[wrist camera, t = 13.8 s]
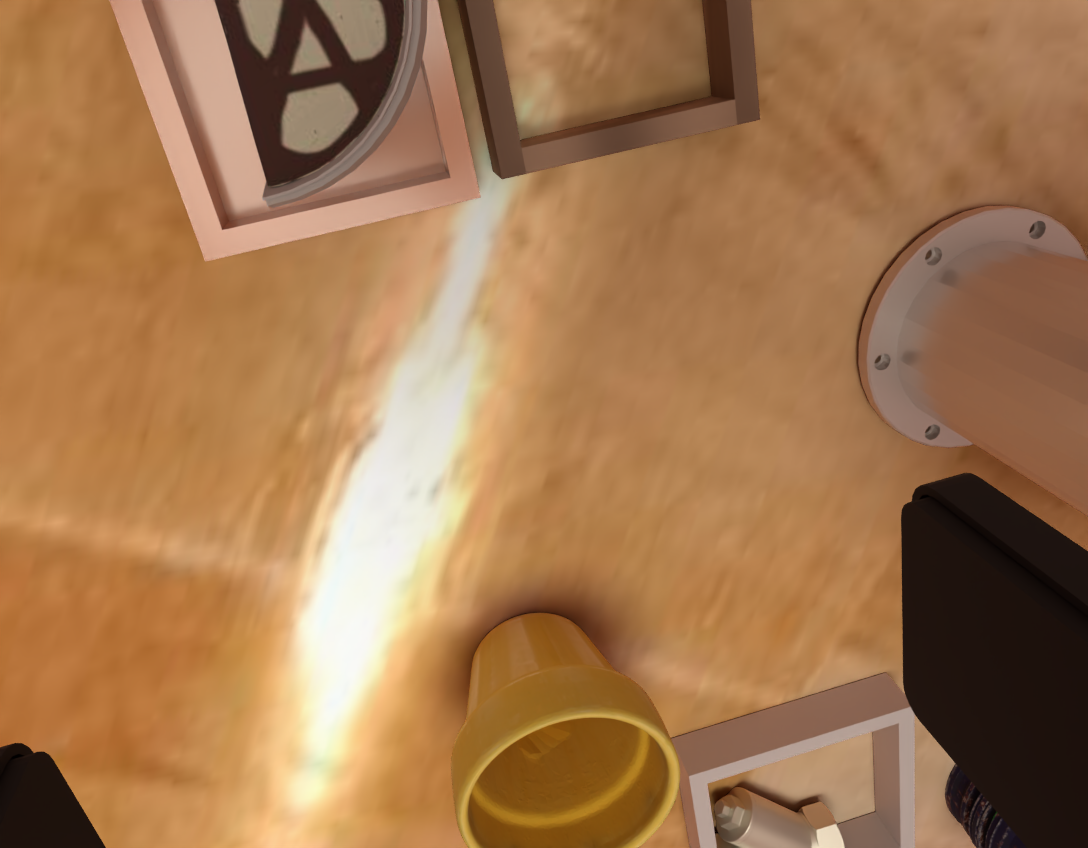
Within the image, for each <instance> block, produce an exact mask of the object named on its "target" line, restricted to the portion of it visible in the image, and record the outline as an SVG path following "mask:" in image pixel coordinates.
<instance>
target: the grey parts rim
mask: <svg viewBox="0 0 1088 848" xmlns="http://www.w3.org/2000/svg"><path fill="white" fill-rule="evenodd" d="M869 732H873V755H874V785H875V812H873V813H870V814H867V815H864V816H861V817H858V818H855V819H852V820H849V821H846V822H843V823H840V824H837V825H838V828H839V830H840V833H841V835H842V838H843V842H844V846H845V848H915V732H914V712H913V711H912V709H911V707H910V705H909V703H908V700H907V698H906V695H905V694H904V693H903V692H902V691H901V690H900V688H899V687H898V686H897V685H896V684H895V682H894V681H893V680H892V679H891V678H890V677H889V675H888V674H887V673H882V674H879V675H876V676H873V677H869V678H866V679H863V680H860V681H856V682H853V683H850V684H847V685H843V686H840V687H837V688H834V689H830V690H827V691H824V692H821V693H817V694H814V695H811V696H808V697H804V698H801V699H798V700H795V701H791V702H788V703H785V704H782V705H778V706H775V707H772V708H769V709H765V710H762V711H759V712H756V713H752V714H749V715H746V716H743V717H739V718H736V719H733V720H730V721H726V722H723V723H720V724H717V725H713V726H710V727H707V728H704V729H700V730H697V731H694V732H691V733H687V734H684V735H681V736H678V737H674V738H671V739H672V742H673V745H674V747H675V750H676V752H677V755H678V759H679V764H680V784H679V787H680V792H681V798H682V804H683V810H684V816H685V822H686V828H687V834H688V839H689V845H690V848H717V845H716V838H715V832H714V825H713V818H712V812H711V805H710V798H709V792H708V785H707V783H711V782H714V781H717V780H720V779H723V778H726V777H730V776H733V775H736V774H739V773H742V772H746V771H749V770H752V769H755V768H758V767H761V766H765V765H768V764H771V763H774V762H777V761H780V760H784V759H787V758H790V757H793V756H796V755H800V754H803V753H806V752H809V751H812V750H815V749H819V748H822V747H825V746H828V745H831V744H834V743H838V742H841V741H844V740H847V739H850V738H854V737H857V736H860V735H863V734H866V733H869Z"/></svg>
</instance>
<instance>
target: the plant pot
mask: <svg viewBox="0 0 1088 848" xmlns="http://www.w3.org/2000/svg"><path fill="white" fill-rule="evenodd" d="M451 776H452V789H453V798H454V806H455V813H456V819H457V824H458V827H459V831H460V833H461V836H462V838H463V840H464V842H465V843H466V845H467V846H468V848H639V847H640V846H641V845H642V844H644V843H645V842H646V841H647V840H648V839H649V838H650V837H651V836H652V835H653V834H654V833H655V832H656V831H657V829H658V828H659V827H660V826H661V824H662V823H663V822H664V820H665V819H666V817H667V816H668V814H669V812H670V810H671V808H672V806H673V804H674V802H675V800H676V797H677V793H678V789H679V784H680V764H679V759H678V755H677V752H676V750H675V747H674V745H673V742H672V740H671V738H670V736H669V734H668V731H667V729H666V727H665V725H664V723H663V721H662V719H661V717H660V715H659V713H658V711H657V710H656V708H655V706H654V704H653V703H652V701H651V699H650V698H649V696H648V695H647V693H646V692H645V691H644V690H643V689H642V688H641V687H640V686H639V685H638V684H637V683H635V682H634V681H633V680H631V679H630V678H628V677H627V676H625V675H623V674H621V673H619V672H617V671H615V670H614V669H613V667H612V666H611V665H610V664H609V663H608V661H607V660H606V659H605V658H604V656H603V655H602V654H601V653H600V651H599V650H598V649H597V648H596V647H595V645H594V644H593V643H592V642H591V640H590V639H589V638H588V637H587V635H586V634H585V633H584V632H583V631H582V630H581V629H580V628H579V627H578V626H577V625H576V624H575V623H573V622H572V621H570V620H568V619H567V618H564V617H562V616H559V615H555V614H550V613H529V614H524V615H520V616H516V617H514V618H511V619H509V620H507V621H505V622H503V623H501V624H500V625H498V626H497V627H495V628H494V629H493V630H491V631H490V632H489V633H488V634H487V635H486V637H485V638H484V639H483V640H482V641H481V643H480V645H479V646H478V648H477V650H476V652H475V654H474V657H473V661H472V668H471V678H470V688H469V696H468V706H467V714H466V721H465V723H464V724H463V726H462V727H461V729H460V731H459V733H458V735H457V738H456V740H455V743H454V746H453V750H452V757H451Z"/></svg>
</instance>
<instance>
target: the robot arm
mask: <svg viewBox="0 0 1088 848" xmlns="http://www.w3.org/2000/svg"><path fill="white" fill-rule="evenodd" d="M858 366H859V371H860V377H861V382H862V386H863V389H864V391H865V393H866V396H867V398H868V400H869V403H870V404H871V406H872V407H873V408H874V410H875V411H876V413H877V414H878V415H879V417H880V418H881V419H882V420H883V421H885V422H886V423H887V424H888V425H890V426H891V427H892V428H893V429H894V430H896V431H898V432H899V433H901V434H902V435H904V436H906V437H907V438H909V439H910V440H912V441H915V442H918V443H920V444H923V445H927V446H933V447H943V448H953V447H964V446H970V445H974V444H975V445H976V446H978V447H979V448H981V449H983V450H984V451H986V452H987V453H989V454H990V455H992V456H994V457H995V458H997V459H998V460H1000V461H1001V462H1003V463H1005V464H1006V465H1008V466H1009V467H1011V468H1012V469H1014V470H1016V471H1017V472H1019V473H1020V474H1022V475H1023V476H1025V477H1027V478H1028V479H1030V480H1031V481H1033V482H1034V483H1036V484H1038V485H1039V486H1041V487H1042V488H1044V489H1046V490H1047V491H1049V492H1050V493H1052V494H1053V495H1055V496H1057V497H1058V498H1060V499H1061V500H1063V501H1064V502H1066V503H1068V504H1069V505H1071V506H1072V507H1074V508H1075V509H1077V510H1079V511H1080V512H1082V513H1083V514H1085V515H1086V516H1088V258H1087V256H1086V254H1085V252H1084V251H1083V249H1082V247H1081V245H1080V243H1079V241H1078V240H1077V239H1076V237H1075V236H1074V235H1073V234H1072V233H1071V232H1070V231H1069V230H1068V229H1067V228H1066V226H1064V225H1063V224H1061V223H1060V222H1058V221H1056V220H1055V219H1053V218H1052V217H1050V216H1048V215H1045V214H1042V213H1039V212H1036V211H1033V210H1030V209H1025V208H1019V207H1014V206H1009V205H1003V206H985V207H981V208H977V209H973V210H969V211H965V212H962V213H960V214H957V215H955V216H953V217H951V218H949V219H947V220H944V221H942V222H940V223H939V224H937V225H936V226H934V227H933V228H931V229H930V230H929V231H927V232H926V233H924V234H923V235H921V236H920V237H919V238H918V239H917V240H915V241H914V242H913V243H912V244H911V245H910V246H909V247H908V248H907V249H906V250H905V251H904V252H903V253H902V254H901V255H900V256H899V257H898V258H897V260H896V261H895V262H894V264H893V265H892V266H891V267H890V269H889V270H888V271H887V272H886V274H885V275H884V277H883V279H882V280H881V282H880V284H879V286H878V287H877V289H876V291H875V293H874V294H873V296H872V298H871V301H870V304H869V306H868V309H867V312H866V314H865V317H864V320H863V324H862V329H861V334H860V340H859V361H858ZM901 532H902V617H903V685H904V691H905V695H906V698H907V700H908V703H909V705H910V707H911V709H912V711H913V712H914V714H915V715H916V717H917V718H918V719H919V720H920V722H921V723H922V724H923V725H924V726H925V728H926V729H927V730H928V731H929V732H930V733H931V735H932V736H933V737H934V738H935V739H936V741H937V742H938V743H939V744H940V745H941V746H942V748H943V749H944V750H945V751H946V752H947V754H948V755H949V756H950V757H951V758H952V759H953V761H954V762H955V763H956V764H957V765H958V767H959V768H960V769H961V770H962V771H963V773H964V774H965V775H966V776H967V777H968V778H969V780H970V781H971V782H972V783H973V784H974V786H975V787H976V788H977V789H978V790H979V791H980V793H981V794H982V795H983V796H984V797H985V799H986V800H987V801H988V802H989V803H990V804H991V806H992V807H993V808H994V809H995V810H996V812H997V813H998V814H999V815H1000V816H1001V817H1002V819H1003V820H1004V821H1005V822H1006V823H1007V825H1008V826H1009V827H1010V828H1011V829H1012V830H1013V832H1014V833H1015V834H1016V835H1017V836H1018V838H1019V839H1020V840H1021V841H1022V842H1023V844H1024V845H1025V846H1026V847H1027V848H1088V551H1086V550H1085V549H1083V548H1082V547H1081V546H1079V545H1078V544H1076V543H1075V542H1073V541H1072V540H1070V539H1069V538H1067V537H1066V536H1064V535H1063V534H1061V533H1060V532H1059V531H1057V530H1056V529H1054V528H1053V527H1051V526H1050V525H1048V524H1047V523H1045V522H1044V521H1042V520H1041V519H1039V518H1038V517H1037V516H1035V515H1034V514H1032V513H1031V512H1029V511H1028V510H1026V509H1025V508H1023V507H1022V506H1020V505H1019V504H1018V503H1016V502H1015V501H1013V500H1012V499H1010V498H1009V497H1007V496H1006V495H1004V494H1003V493H1001V492H1000V491H998V490H997V489H996V488H994V487H993V486H991V485H990V484H988V483H987V482H985V481H984V480H982V479H981V478H979V477H978V476H976V475H973V474H971V473H963V474H960V475H956V476H953V477H949V478H946V479H942V480H938V481H935V482H931V483H928V484H924V485H921V486H919V487H918V488H916V489H915V491H914V494H913V496H912V502H909V503H907V504H905V505H904V507H903V509H902V515H901ZM0 848H106V847H105V846H104V844H103V842H102V841H101V839H100V837H99V836H98V834H97V832H96V831H95V829H94V827H93V826H92V824H91V822H90V821H89V819H88V817H87V816H86V814H85V812H84V810H83V809H82V807H81V805H80V804H79V802H78V800H77V799H76V797H75V795H74V794H73V792H72V790H71V789H70V787H69V785H68V784H67V782H66V780H65V779H64V777H63V775H62V774H61V772H60V770H59V769H58V767H57V765H56V764H55V762H54V760H53V759H52V758H51V757H50V755H49V754H47V753H45V752H36V753H33V752H32V750H31V749H30V748H29V747H28V746H26V745H24V744H22V743H14V744H10V745H7V746H3V747H0Z"/></svg>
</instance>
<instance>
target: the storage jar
mask: <svg viewBox="0 0 1088 848" xmlns="http://www.w3.org/2000/svg"><path fill="white" fill-rule="evenodd" d="M945 798H946V804H947V806H948V808H949V811H950V812H951V813H952V814H953V816H954V817H955V818H956V819H957V821H958V822H959V823H961V824H962V825H963V827H964V829H965V831H966V832H967V834H968V835H969V836H970V838H971V840H972V842H973V844H974V845H975V846H976V848H1027V847H1026V846H1025V845H1024V844H1023V842H1022V841H1021V840H1020V839H1019V838H1018V836H1017V835H1016V834H1015V833H1014V832H1013V830H1012V829H1011V828H1010V827H1009V826H1008V825H1007V823H1006V822H1005V821H1004V820H1003V819H1002V817H1001V816H1000V815H999V814H998V813H997V812H996V810H995V809H994V808H993V807H992V806H991V804H990V803H989V802H988V801H987V800H986V799H985V797H984V796H983V795H982V794H981V793H980V791H979V790H978V789H977V788H976V787H975V786H974V784H973V783H972V782H971V781H970V780H969V778H968V777H967V776H966V775H965V774H964V773H963V771H962V770H961V769H960V768H959V767H958V765H957V764H955V766H954V768H953V769H952V771H951V773H950V776H949V778H948V781H947V785H946V789H945Z"/></svg>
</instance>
